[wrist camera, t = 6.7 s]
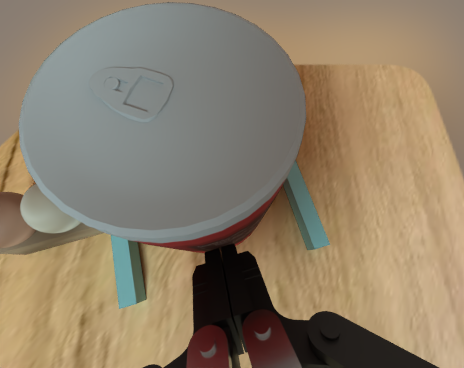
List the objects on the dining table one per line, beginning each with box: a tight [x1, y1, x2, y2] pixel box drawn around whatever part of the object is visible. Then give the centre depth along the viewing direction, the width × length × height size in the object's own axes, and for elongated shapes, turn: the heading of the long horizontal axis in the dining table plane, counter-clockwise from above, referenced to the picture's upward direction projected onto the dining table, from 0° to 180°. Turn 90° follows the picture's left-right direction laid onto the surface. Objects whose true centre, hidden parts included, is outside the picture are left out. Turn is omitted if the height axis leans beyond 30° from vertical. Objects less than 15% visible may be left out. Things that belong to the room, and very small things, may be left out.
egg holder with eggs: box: [0, 184, 103, 255], centre depth 14 cm, size 6×3×5 cm, turn 106°
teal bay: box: [111, 160, 330, 309], centre depth 16 cm, size 13×12×2 cm
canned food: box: [19, 2, 306, 253], centre depth 11 cm, size 8×8×11 cm
